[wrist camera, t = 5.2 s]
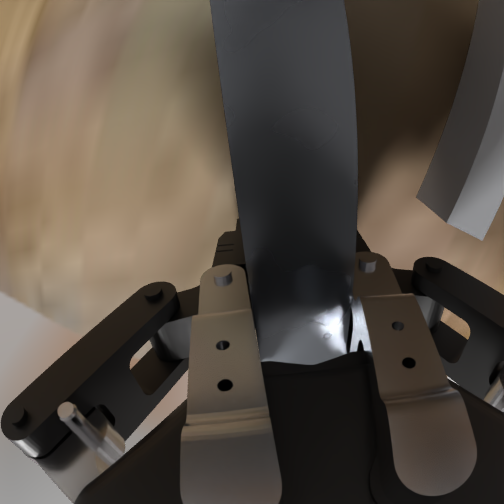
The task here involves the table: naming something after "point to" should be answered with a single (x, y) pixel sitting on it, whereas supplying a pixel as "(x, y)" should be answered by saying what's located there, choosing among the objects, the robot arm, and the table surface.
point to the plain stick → (473, 134)
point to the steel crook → (292, 167)
